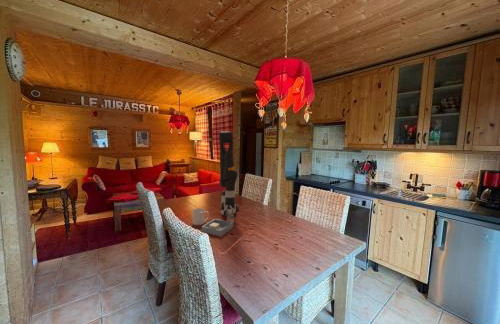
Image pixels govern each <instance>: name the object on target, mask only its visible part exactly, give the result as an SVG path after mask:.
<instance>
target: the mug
mask: <svg viewBox="0 0 500 324" xmlns="http://www.w3.org/2000/svg"><path fill="white" fill-rule="evenodd" d="M205 213H207V214H209V211H205V209H204V208H194V209H192V225H194V226H201V225H202V226H203V225H205V222H206V221H207V220H208V219H209V216H207V217H206V218H205Z"/></svg>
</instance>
